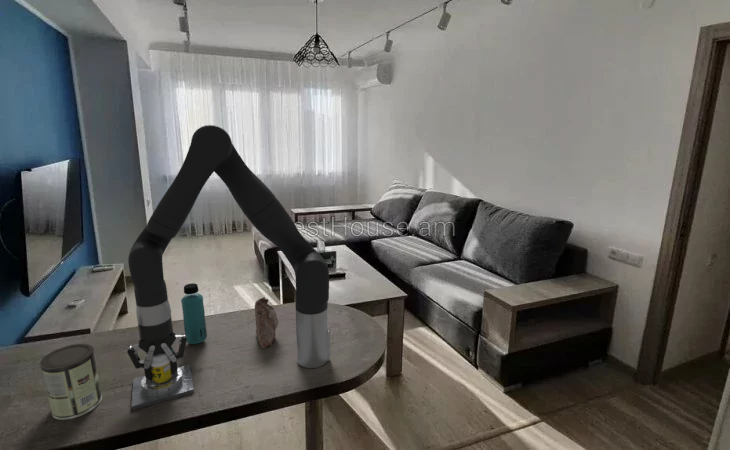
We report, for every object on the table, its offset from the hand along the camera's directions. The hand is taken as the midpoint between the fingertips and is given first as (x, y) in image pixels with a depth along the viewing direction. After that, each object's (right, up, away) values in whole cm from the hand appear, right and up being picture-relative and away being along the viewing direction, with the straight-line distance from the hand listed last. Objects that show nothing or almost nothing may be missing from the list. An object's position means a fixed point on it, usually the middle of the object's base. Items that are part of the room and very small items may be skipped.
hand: (162, 375), depth 101 cm
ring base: (0, -4, +1) cm, 4 cm away
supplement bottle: (0, -2, +1) cm, 2 cm away
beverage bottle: (0, +2, +22) cm, 22 cm away
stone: (+22, +2, +25) cm, 33 cm away
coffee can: (-18, -5, -6) cm, 20 cm away
